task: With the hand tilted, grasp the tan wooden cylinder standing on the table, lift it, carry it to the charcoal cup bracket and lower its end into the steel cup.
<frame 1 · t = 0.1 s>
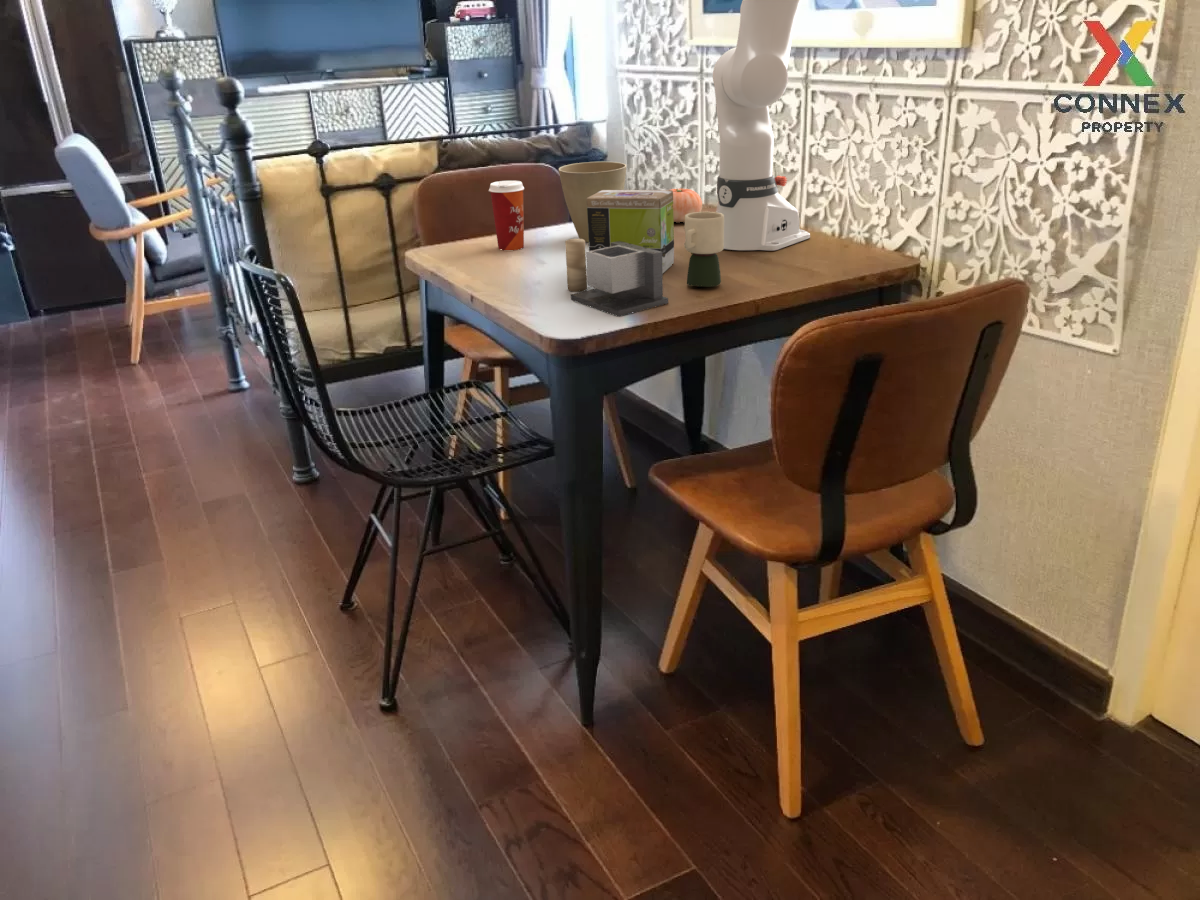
plant pot: (595, 240, 211), on the table
character mug: (703, 287, 172), on the table
bracket: (616, 302, 165), on the table
orange pumpkin: (679, 222, 225), on the table
tan wooden cylinder: (577, 289, 174), on the table
tea box: (632, 269, 186), on the table
paper cup: (511, 248, 206), on the table
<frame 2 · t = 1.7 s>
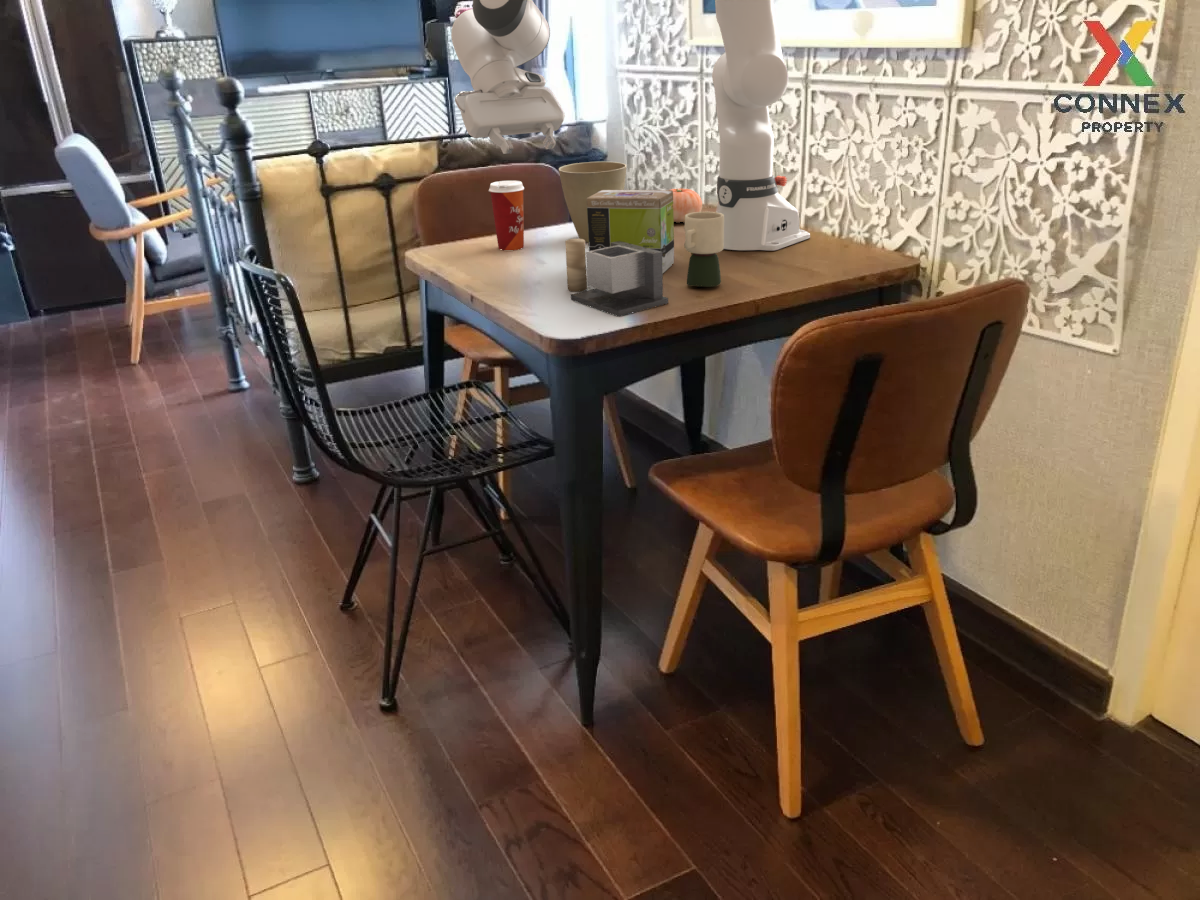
hand: (530, 149, 173), 24 cm above the table, tool tilted 45°, fingers open, 8 cm apart
nothing on the table moved.
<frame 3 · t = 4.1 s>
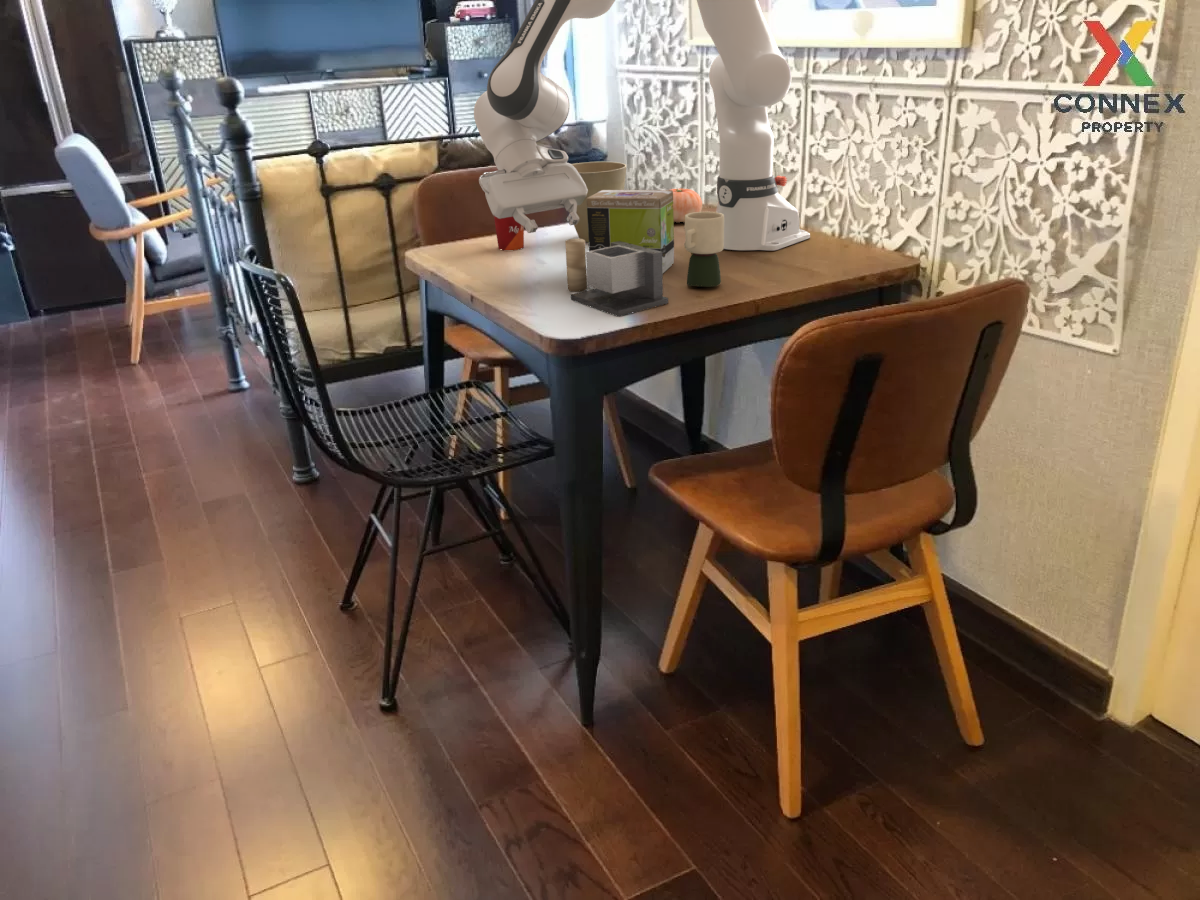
hand: (554, 226, 174), 11 cm above the table, tool tilted 45°, fingers open, 8 cm apart
nothing on the table moved.
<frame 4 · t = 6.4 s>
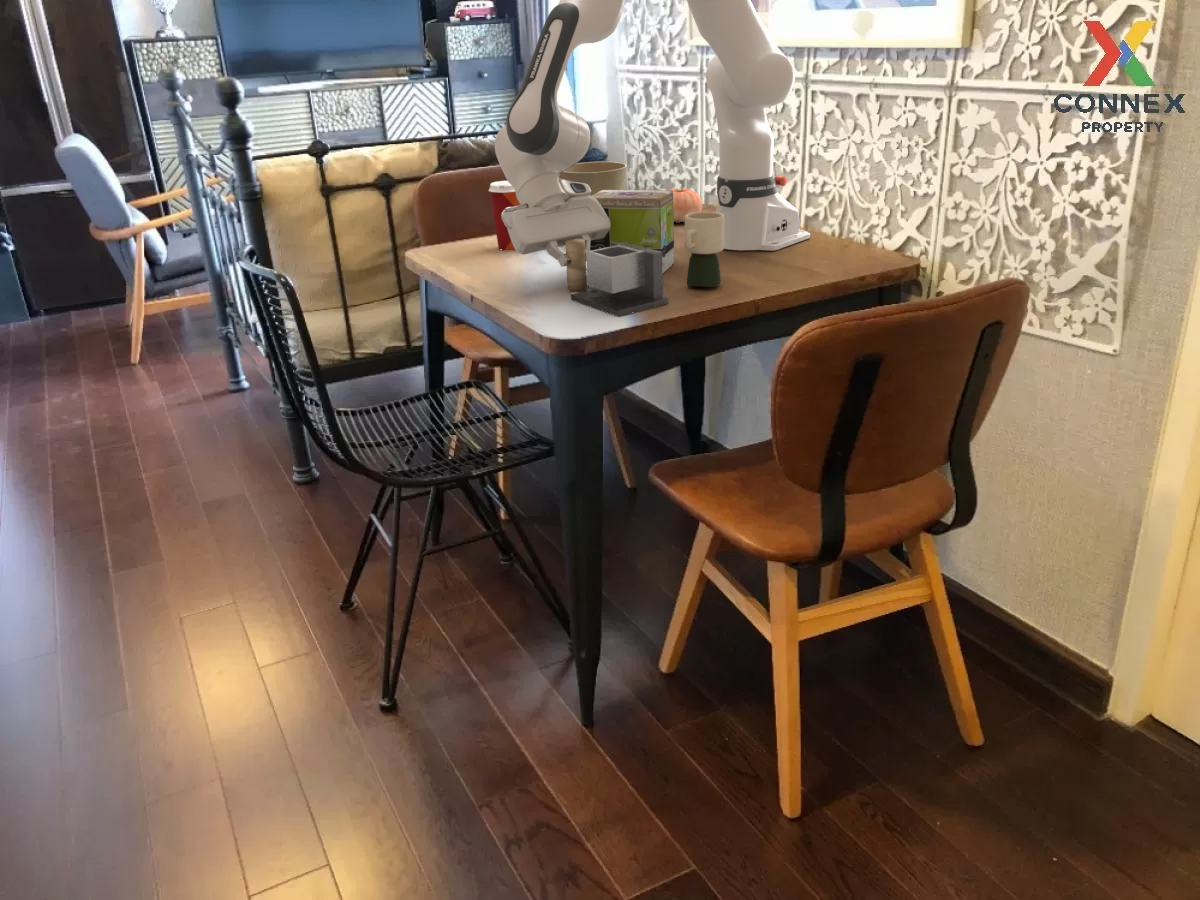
hand: (578, 262, 171), 5 cm above the table, tool tilted 45°, fingers closed on tan wooden cylinder, 4 cm apart
tan wooden cylinder: (577, 289, 174), on the table, touching gripper
everything else where it was.
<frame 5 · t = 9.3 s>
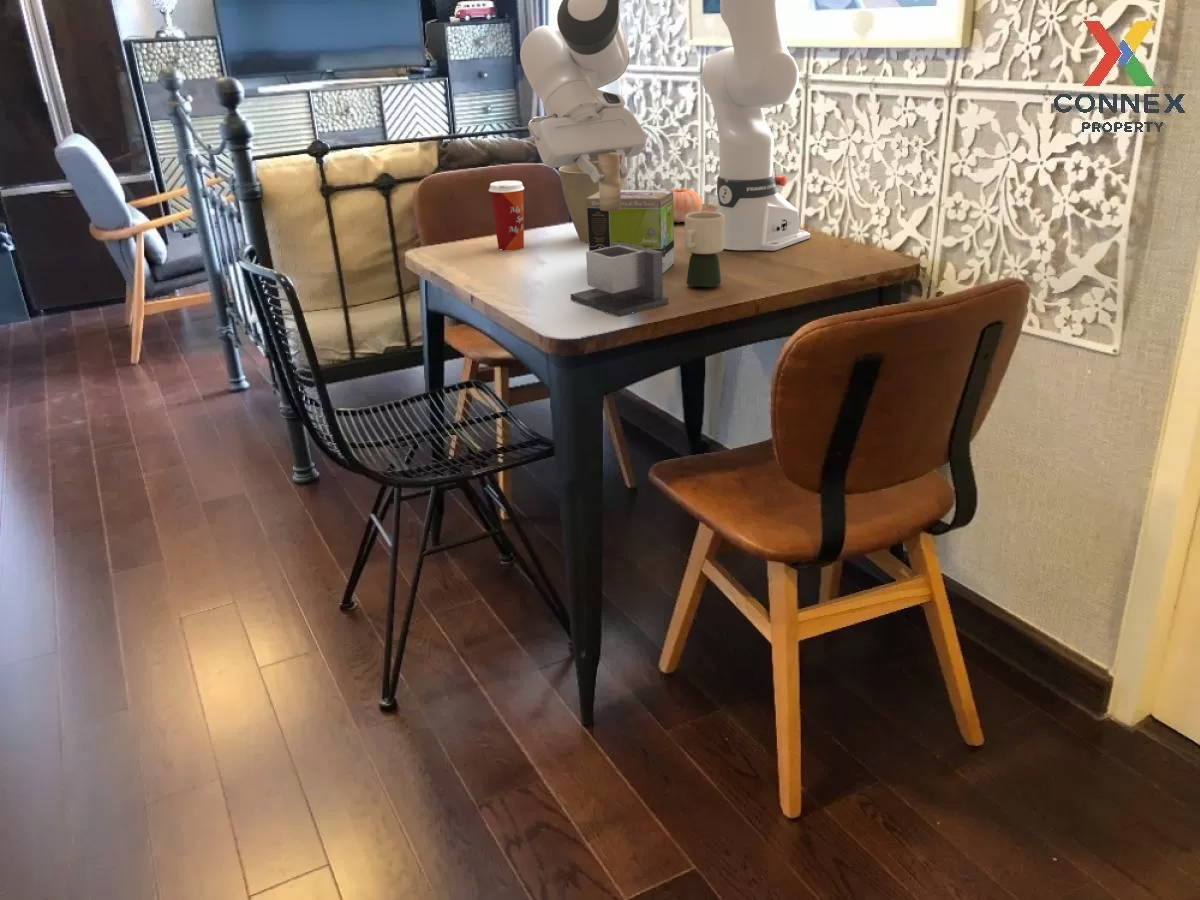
hand: (611, 178, 156), 21 cm above the table, tool tilted 45°, fingers closed on tan wooden cylinder, 4 cm apart
tan wooden cylinder: (610, 208, 159), point 16 cm above the table, touching gripper
everything else where it was.
when the fingers open (11 cm above the table, at t = 12.3 s): tan wooden cylinder drops 1 cm, resting on bracket.
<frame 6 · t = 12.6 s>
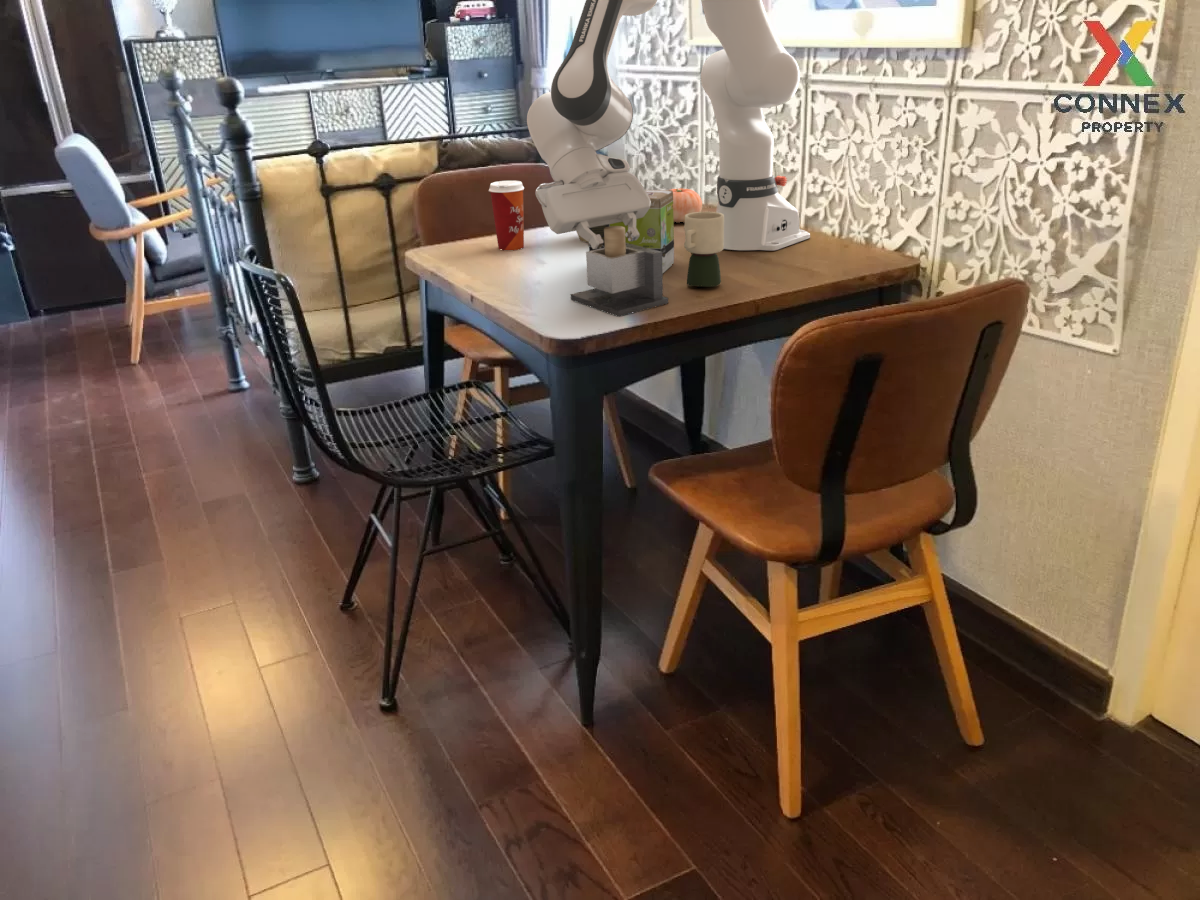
hand: (617, 242, 160), 11 cm above the table, tool tilted 45°, fingers open, 6 cm apart
tan wooden cylinder: (616, 279, 163), point 4 cm above the table, touching bracket
everything else where it was.
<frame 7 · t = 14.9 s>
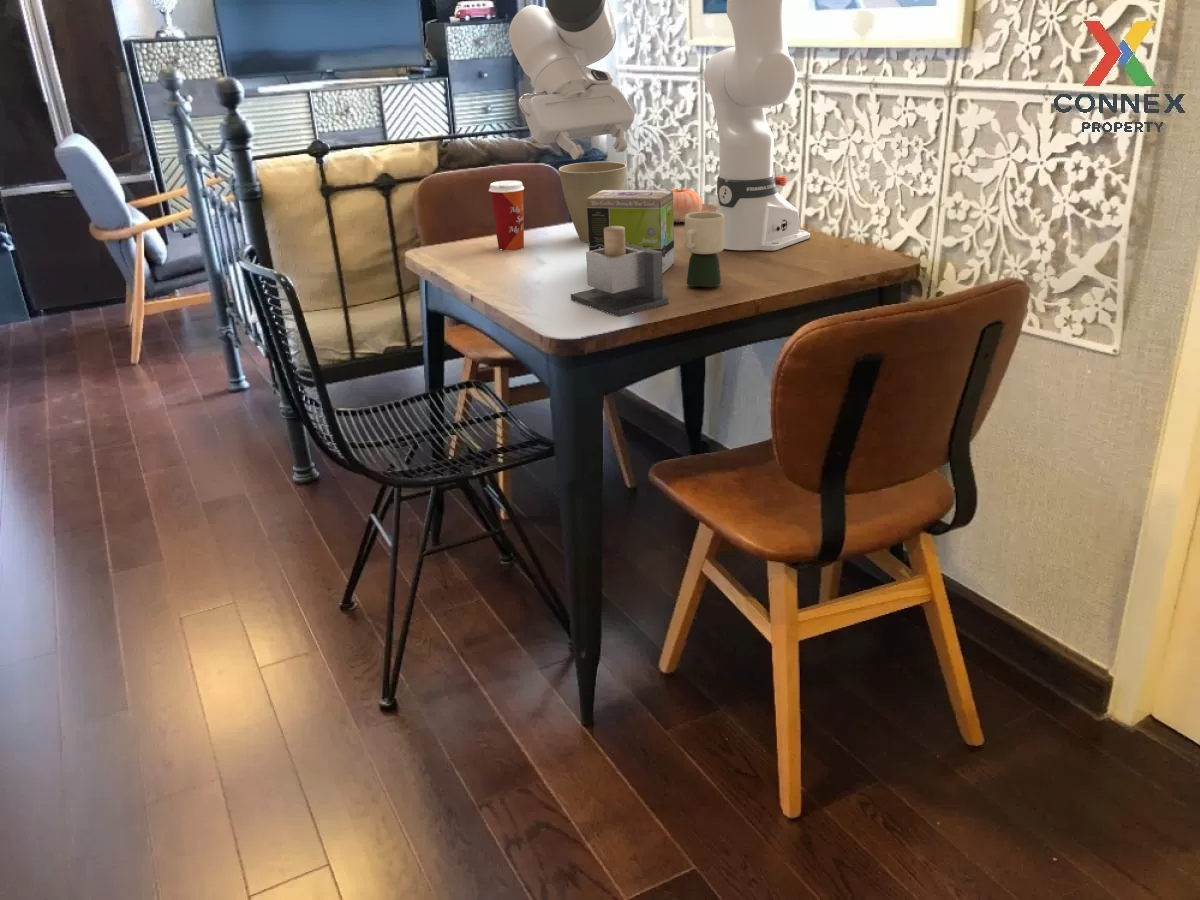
hand: (601, 153, 159), 25 cm above the table, tool tilted 45°, fingers open, 8 cm apart
nothing on the table moved.
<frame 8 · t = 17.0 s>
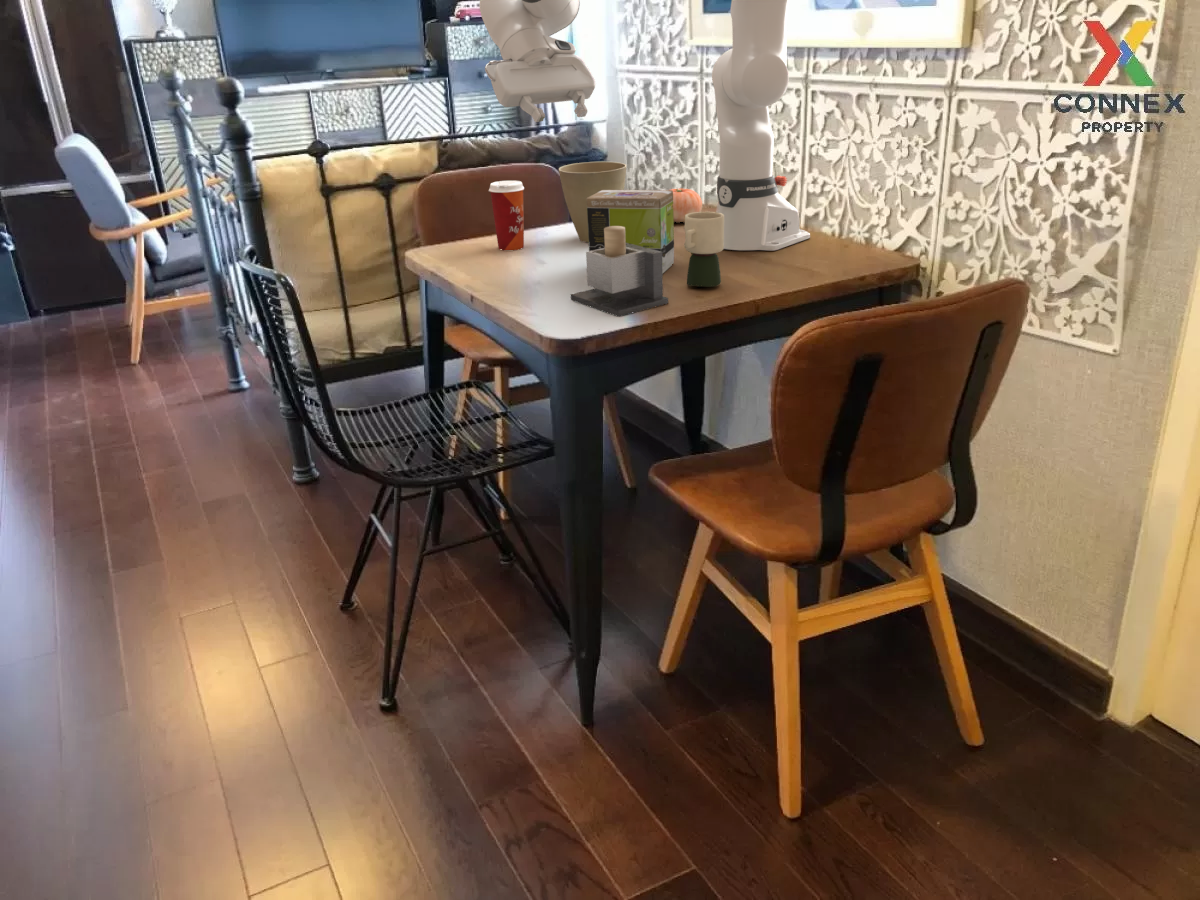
hand: (562, 117, 171), 29 cm above the table, tool tilted 45°, fingers open, 8 cm apart
nothing on the table moved.
at the end: tan wooden cylinder 0.1 cm off-centre on the bracket, point 4.0 cm above the bracket's base; tan wooden cylinder tilted 1°; the gripper is holding nothing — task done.
